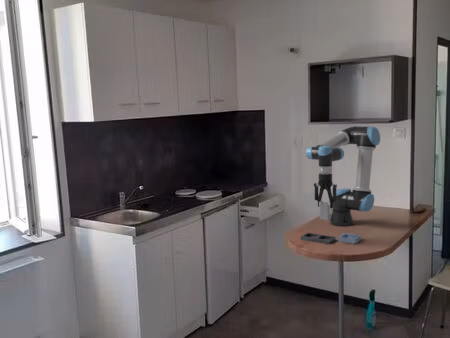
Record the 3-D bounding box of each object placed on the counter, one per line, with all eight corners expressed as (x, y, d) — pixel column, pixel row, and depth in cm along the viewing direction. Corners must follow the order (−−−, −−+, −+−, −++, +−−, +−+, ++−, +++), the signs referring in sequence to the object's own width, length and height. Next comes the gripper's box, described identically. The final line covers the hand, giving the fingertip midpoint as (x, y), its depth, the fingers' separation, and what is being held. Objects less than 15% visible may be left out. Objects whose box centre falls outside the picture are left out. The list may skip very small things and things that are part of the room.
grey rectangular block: (323, 217, 265) (323, 202, 264) (331, 218, 262) (331, 202, 261) (319, 218, 261) (319, 203, 260) (327, 220, 258) (327, 204, 257)
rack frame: (307, 235, 275) (307, 232, 275) (335, 240, 264) (335, 237, 264) (300, 239, 268) (300, 236, 268) (329, 244, 257) (329, 240, 257)
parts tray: (344, 237, 270) (344, 232, 270) (361, 239, 264) (361, 235, 264) (338, 241, 262) (338, 237, 262) (354, 244, 257) (355, 239, 256)
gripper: (307, 173, 260) (308, 212, 264) (337, 175, 250) (337, 216, 253) (313, 171, 266) (313, 209, 270) (343, 173, 256) (342, 213, 259)
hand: (325, 212), depth 261 cm, fingers closed on grey rectangular block, 5 cm apart
